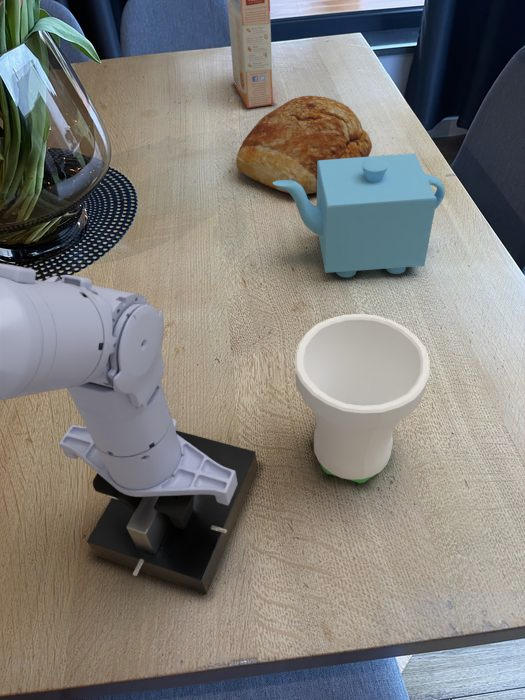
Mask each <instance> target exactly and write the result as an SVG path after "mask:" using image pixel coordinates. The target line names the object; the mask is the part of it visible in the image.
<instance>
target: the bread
mask: <svg viewBox="0 0 525 700" xmlns="http://www.w3.org/2000/svg"><path fill="white" fill-rule="evenodd" d="M372 149H373V143H372V140H371V137H370V136H369V133H368V132H367V131H366V130H365V129H363V126H362V123H361V120H360V119H359V118H358V116H357V115H356V114H355V113H354V111H353V110H352V109H351V108H350V107H349V106H348V105H346V104H345V103H343V102H341V101H338V100H335V99H332V98H329V97H326V96H317V95H303V96H299V97H294V98H292V99H290V100H289V101H287V102H285V103H283V104H281V105H280V106H278V107H276V108H275V109H273V110H271V111H270V112H269V113H267V114H265V115H264V116H263V117H262V118H261V119H259V121H258V122H257V123H256V124H255V126H253V128H252V129H251V131H249V133H248V134H247V135H246V137H245V138H244V140H243V141H242V143H241V145H240V147H239V148H238V151H237V154H236V167H237V170H238V172H240V173H241V174H243V175H245V176H247V177H249V178H250V179H252V180H254V181H256V182H257V183H258V182H259V183H261V184H263V185H265V186H267V187H269V188H273V189H275V190H278V191H281V192H283V193H287V194H290V193H289V192H287V191H286V190H284V189H282V188H280V187H277V186H275V185H273V182H275V181H279V180H291V181H295V182H297V183H298V184H300V185H301V186H302V187H303V189H304V191H305V193H306V195H309V194H317V162H318V161H319V160H331V159H344V158H357V157H370V154H371V152H372Z"/></svg>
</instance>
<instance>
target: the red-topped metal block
mask: <svg viewBox="0 0 525 700" xmlns="http://www.w3.org/2000/svg"><path fill="white" fill-rule="evenodd" d="M158 498H159V496H147V497H143V498H142V500H141V502H140V503H139V505H138V507H137V509H136V511H135V513H134V514H133V516H132V518H131V520H130V522H129V524H128V525H127V530H128V532H129V534H130V536H131V537H132V539H133V541H134V543H135V545H136V547H137V549H140V550H143V551H146V552H149V553H152V554H156V552H157V550H158V548H159V546H160V544H161V542H162V540H163V538H164V536H165V534H166V532H167V530H168V528H169V526H170V524H171V522H172V521H171V519H170V518H169V516H168V515H167V514H165V513H162V512H159V511H156V510H154V505H155V503H156V502H157V500H158Z"/></svg>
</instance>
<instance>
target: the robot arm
mask: <svg viewBox="0 0 525 700" xmlns="http://www.w3.org/2000/svg"><path fill="white" fill-rule="evenodd" d="M36 276H37V272H36V270H35V269H33V268H30V267H29V268H28V267H24V266H20V265H19V266H18V265H13V264H7V263H0V402H2V401H7V400H13V399H17V398H22V397H27V396H33V395H37V394H43V393H48V392H54V391H59V390H64V389H67V391H68V393H69V395H70V397H71V399H72V402H73V403H74V405H75V408H76V409H77V411H78V414H79V416H80V418H81V420H82V422H83V423H84V425H85V426H83V425H82V426H81V425H77V424H71V425H70V426H69V428H68V430H67V431H66V432H65V433H64V435H63V437H62V438H61V439H60V441H59V443H58V445H59V447H60V449H61V450H62V452H63V453H64V455H65V457H67V458H70V459H74V460H76V459H78V458H79V459H80V460H82V462H83V463H85V464H86V465H88V467H90V468H91V469H92V470H93V471H95V472H96V474H95V476H94V478H93V480H92V487H93V489H94V491H95V492H97V493H100V494H102V495H105V496H108V495H109V496H112V497H115V498H116V499H118V500H120V501H121V502H123V503H124V504H125V505H127V506H128V507H129V508H130V509H131V510H133V511H134V512H135V511H136V509H137V507H138V505H139V503H140V502H141V500H142V498H143V497H147V496H159V498H158V500H157V502H156V503H155V505H154V510H156V511H159V512H162V513H165V514H167V515H168V516H169V518H170V519H171V521H172V523H173V525H174V526H175V527H177V528H180V529H185V527H186V525H187V523H188V521H189V519H190V516H191V514H192V512H193V503H194V496H195V495H199V494H207V495H215V497H216V501H217V502H218V503H221V504H225V505H229V503H230V501H231V498H232V496H233V494H234V491H235V489H236V486H237V484H238V483H237V478H236V472H235V470H231V469H229V468H226V467H223V466H221V465H220V464H218V463H216V462H215V461H213V460H212V459H211V458H209V457H208V456H206V455H205V454H204V453H202V452H201V451H199V450H198V449H197V448H195V447H194V446H193V445H191V444H190V443H188V442H187V441H186V440H184V439H183V438H182V437H180V436H179V435H177V434H176V430H177V431H178V423H177V420H176V419H175V418H173V417H172V414H171V411H170V407H169V404H168V401H167V397H166V394H165V390H164V387H163V384H162V380H163V378H164V376H165V372H164V369H165V362H164V358H163V341H164V334H165V333H164V331H165V320H164V313H163V310H162V309H159V310H157V309H156V308H155V307H154V306H153V305H151V304H150V302H147V300H148V299H147V298H146V297H145V296H144V295H142V294H139V293H134V292H128V291H124V290H120V289H114V288H109V287H105V286H101V285H99V286H98V285H95V284H93V281H92V280H91V278H88V277H84V276H79V275H72V274H64V275H63V276H62V277H60V276H58V275H54V276H51V277H49V278H46V279H45V280H37V279H36Z"/></svg>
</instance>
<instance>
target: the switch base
mask: <svg viewBox="0 0 525 700" xmlns="http://www.w3.org/2000/svg"><path fill="white" fill-rule="evenodd" d="M176 434H177V435H179V436H180V437H182V438H183V439H184V440H186V441H187V442H188V443H190V444H191V445H193V446H194V447H195V448H197V449H198V450H199V451H201V452H202V453H204V454H205V455H206V456H208V457H209V458H211V459H212V460H213V461H215V462H216V463H218V464H220V465H221V466H223V467H226V468H229V469H231V470H235V472H236V478H237V483H238V484H237V486H236V489H235V491H234V494H233V496H232V498H231V501H230V503H229V505H225V504H221V503H218V502H217V501H216V497H215V495H207V494H199V495H195V496H194V503H193V512H192V514H191V516H190V519H189V521H188V523H187V525H186V527H185V529H180V528H177V527H175V526H174V525H173V523H172V522H171V524H170V526H169V528H168V530H167V532H166V534H165V536H164V538H163V540H162V542H161V544H160V546H159V548H158V550H157V552H156V554H152V553H149V552H146V551H143V550H140V549H137V547H136V545H135V543H134V541H133V539H132V537H131V536H130V534H129V532H128V530H127V525H128V524H129V522H130V520H131V518H132V516H133V514H134V513H135V512H134V511H133V510H131V509H130V508H129V507H128V506H127V505H125V504H124V503H123V502H121V501H120V500H118V499H116V498H115V497H112V496H109V495H107V498H110V500H109V502H108V504H107V505H106V507H105V509H104V510H103V512H102V514H101V515H100V517H99V519H98V521H97V523H96V525H95V526H94V528H93V530H92V532H91V533H90V535H89V537H88V538H87V540H86V543H87V544H88V546H89V548H90V549H91V550H92V552H93V553H94V555H95V556H96V557H98V558H102V559H104V560H107V561H109V562H112V563H116V564H119V565H121V566H125V567H127V568H130V569H133V570H134V571H133V572H132V576H134V577H137V576H138V575H139V572H142V573H145V574H148V575H150V576H152V577H155V578H158V579H162V580H164V581H167V582H170V583H173V584H176V585H179V586H181V587H184V588H188V589H190V590H193V591H195V592H199V593H202V594H205V595H207V594H208V592H209V590H210V588H211V585H212V583H213V580H214V577H215V575H216V572H217V570H218V566H219V564H220V562H221V560H222V558H223V555H224V552H225V550H226V547H227V546H228V543H229V540H230V537H231V535H232V532H233V530H234V528H235V525H236V523H237V520H238V518H239V515H240V513H241V511H242V509H243V508H242V507H243V505H244V503H245V500H246V498H247V495H248V493H249V490H250V489H251V488H250V487H251V486H252V483H253V481H254V478H255V475H256V473H257V471H258V460H257V451H255V450H250V449H248V448H245V447H244V448H243V447H240V446H236V445H232V444H228V443H225V442H222V441H218V440H214V439H211V438H207V437H202V436H199V435H195V434H191V433H187V432H184V431H181V430H178V429H177V430H176Z"/></svg>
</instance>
